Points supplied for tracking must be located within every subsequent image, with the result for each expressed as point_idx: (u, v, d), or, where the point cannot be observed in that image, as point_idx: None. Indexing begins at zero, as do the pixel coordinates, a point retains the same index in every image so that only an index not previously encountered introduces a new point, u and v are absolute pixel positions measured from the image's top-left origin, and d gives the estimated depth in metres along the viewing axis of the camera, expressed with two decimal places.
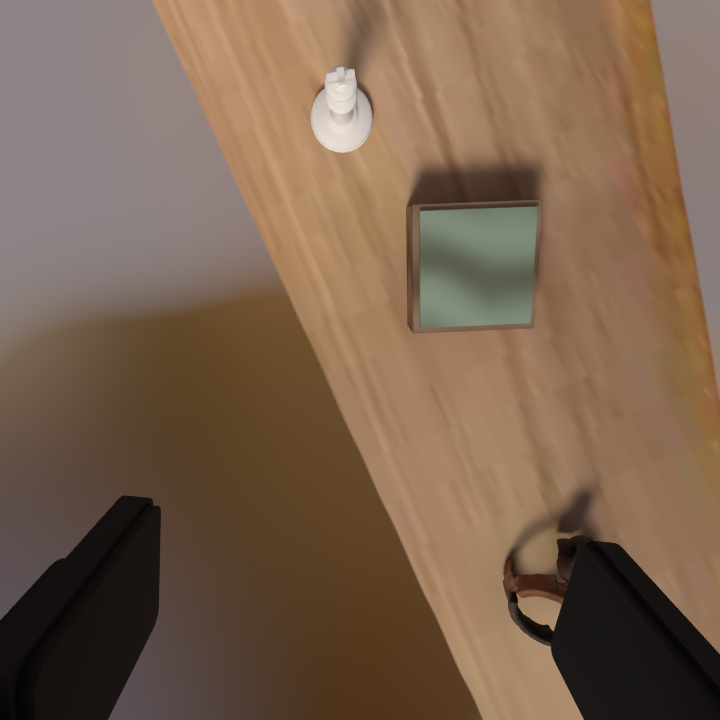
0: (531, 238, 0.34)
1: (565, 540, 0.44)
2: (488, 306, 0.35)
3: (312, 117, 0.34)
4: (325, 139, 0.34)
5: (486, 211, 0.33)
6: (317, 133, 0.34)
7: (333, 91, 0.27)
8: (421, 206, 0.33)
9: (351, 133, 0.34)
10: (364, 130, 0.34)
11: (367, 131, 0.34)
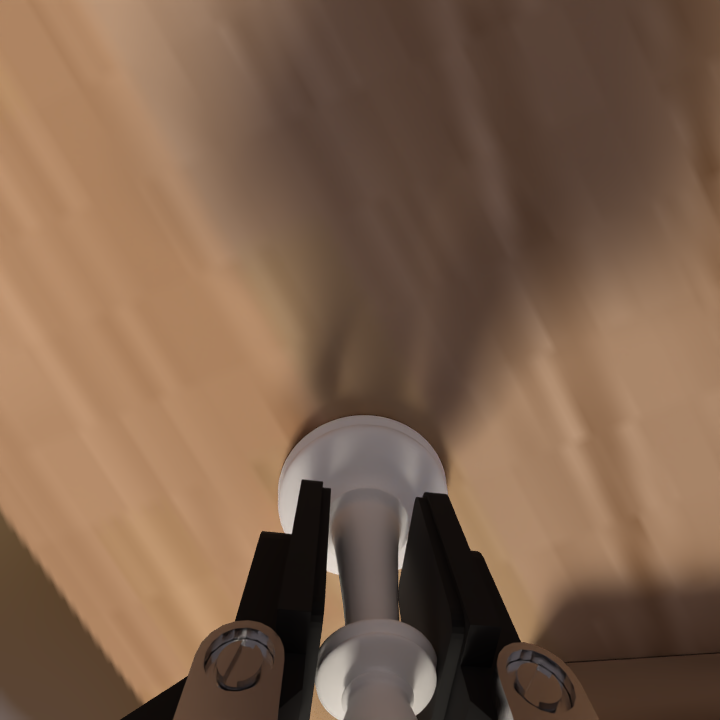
0: None
1: None
2: None
3: (281, 512, 0.12)
4: None
5: None
6: None
7: None
8: None
9: None
10: None
11: None
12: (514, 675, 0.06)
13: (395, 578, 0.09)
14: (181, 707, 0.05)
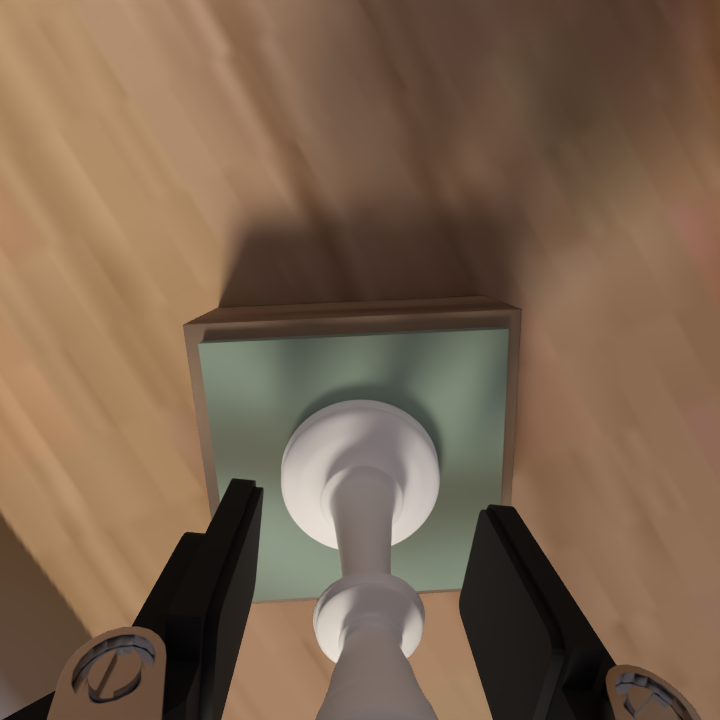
0: (494, 405, 0.13)
1: None
2: (395, 554, 0.15)
3: (284, 490, 0.13)
4: (318, 537, 0.13)
5: (374, 342, 0.13)
6: (298, 523, 0.13)
7: None
8: (206, 328, 0.13)
9: None
10: (420, 516, 0.13)
11: (427, 515, 0.13)
12: (625, 696, 0.06)
13: (388, 544, 0.10)
14: None
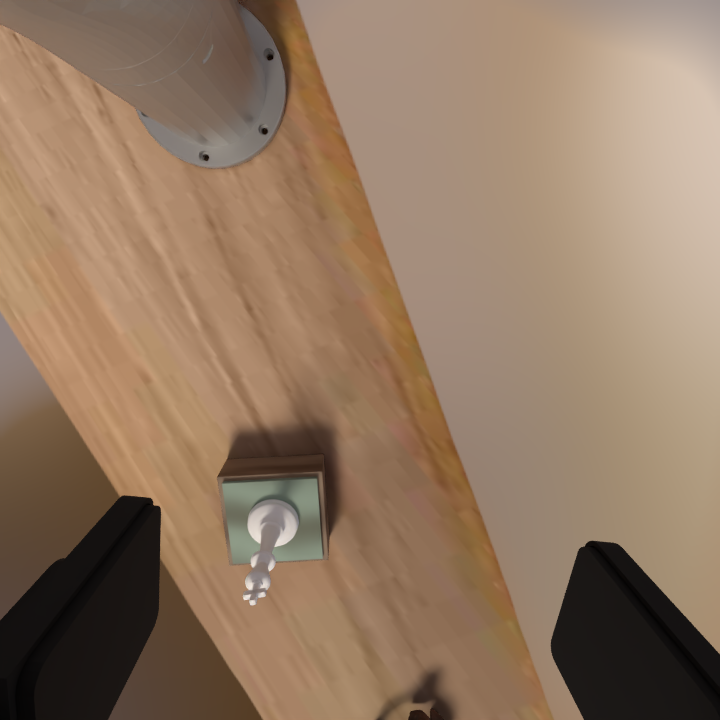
0: (314, 500, 0.42)
1: (414, 714, 0.53)
2: (286, 547, 0.43)
3: (248, 527, 0.42)
4: (259, 542, 0.42)
5: (275, 482, 0.41)
6: (252, 537, 0.42)
7: (251, 589, 0.35)
8: (224, 478, 0.42)
9: (280, 539, 0.42)
10: (291, 535, 0.42)
11: (293, 535, 0.42)
12: None
13: (272, 544, 0.39)
14: None
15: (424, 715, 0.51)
